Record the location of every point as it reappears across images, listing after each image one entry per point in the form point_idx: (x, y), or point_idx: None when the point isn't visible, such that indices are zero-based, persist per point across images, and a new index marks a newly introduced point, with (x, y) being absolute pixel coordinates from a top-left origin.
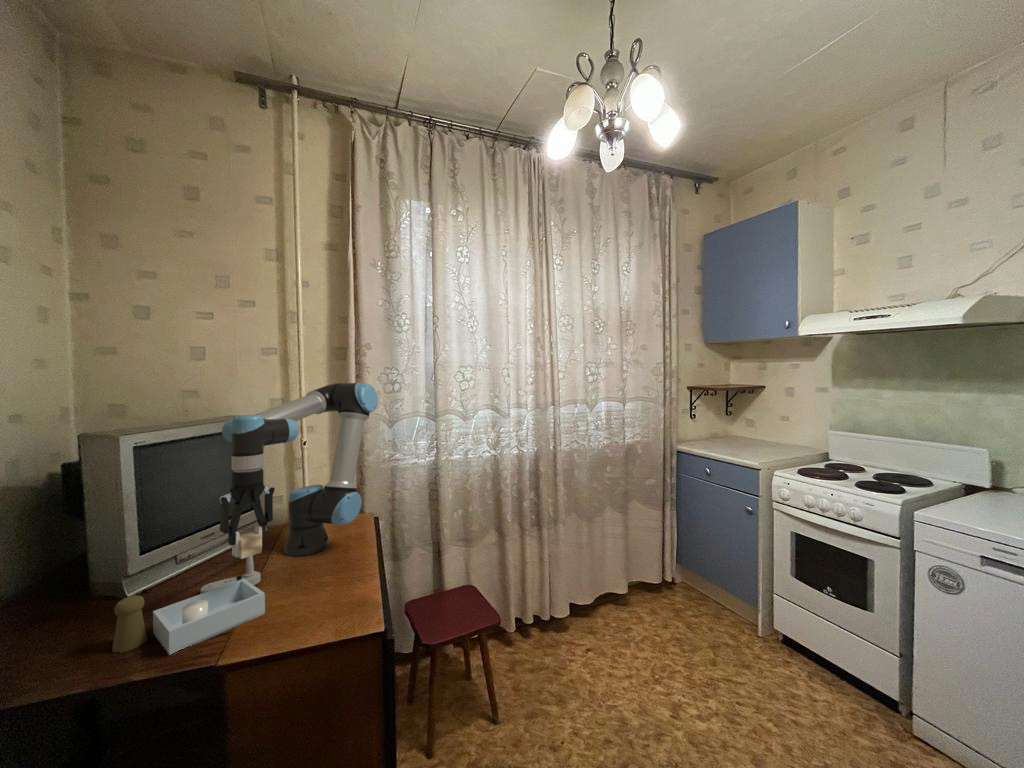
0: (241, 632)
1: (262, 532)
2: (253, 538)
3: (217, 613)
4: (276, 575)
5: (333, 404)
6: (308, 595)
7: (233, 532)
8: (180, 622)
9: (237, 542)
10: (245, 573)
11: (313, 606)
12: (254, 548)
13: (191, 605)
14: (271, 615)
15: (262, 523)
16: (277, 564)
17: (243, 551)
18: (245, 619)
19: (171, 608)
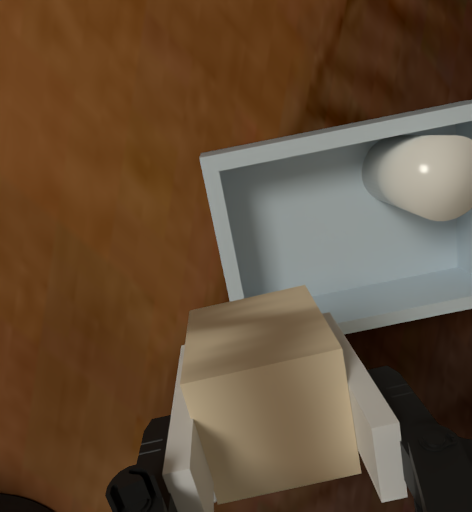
0: (284, 79)
1: (163, 442)
2: (245, 364)
3: (370, 123)
4: (124, 407)
5: None
6: (46, 177)
7: (435, 431)
8: (409, 274)
9: (356, 367)
10: None
11: (42, 71)
12: (233, 320)
13: (456, 192)
14: (184, 123)
15: (153, 508)
16: (109, 483)
17: (303, 307)
18: (263, 141)
19: (462, 293)
